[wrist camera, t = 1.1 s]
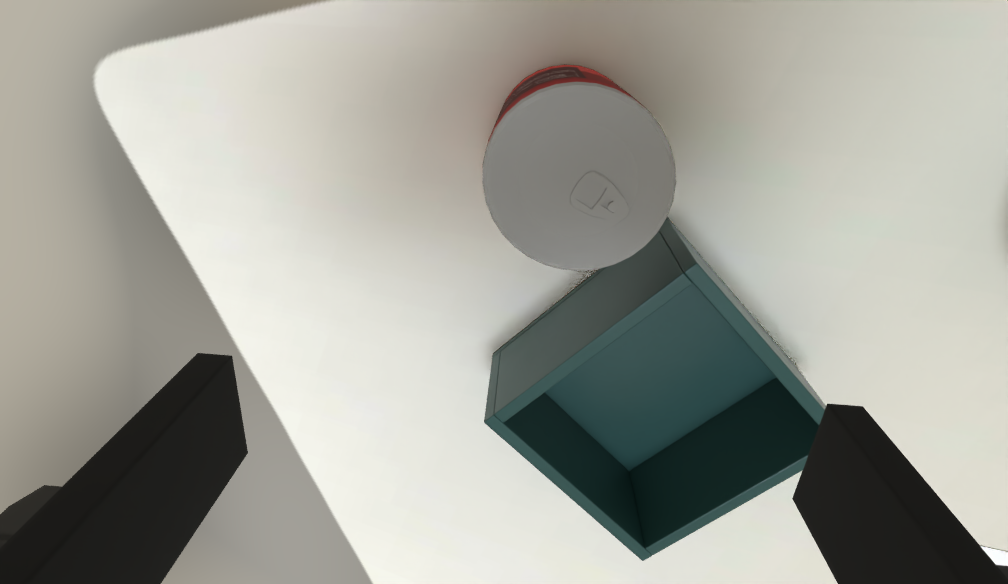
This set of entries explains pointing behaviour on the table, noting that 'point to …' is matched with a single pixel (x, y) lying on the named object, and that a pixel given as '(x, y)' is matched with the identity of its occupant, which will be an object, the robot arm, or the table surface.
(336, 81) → the table surface
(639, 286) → the bin
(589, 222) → the canned food
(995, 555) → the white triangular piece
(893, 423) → the table surface
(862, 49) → the table surface
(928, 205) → the table surface
